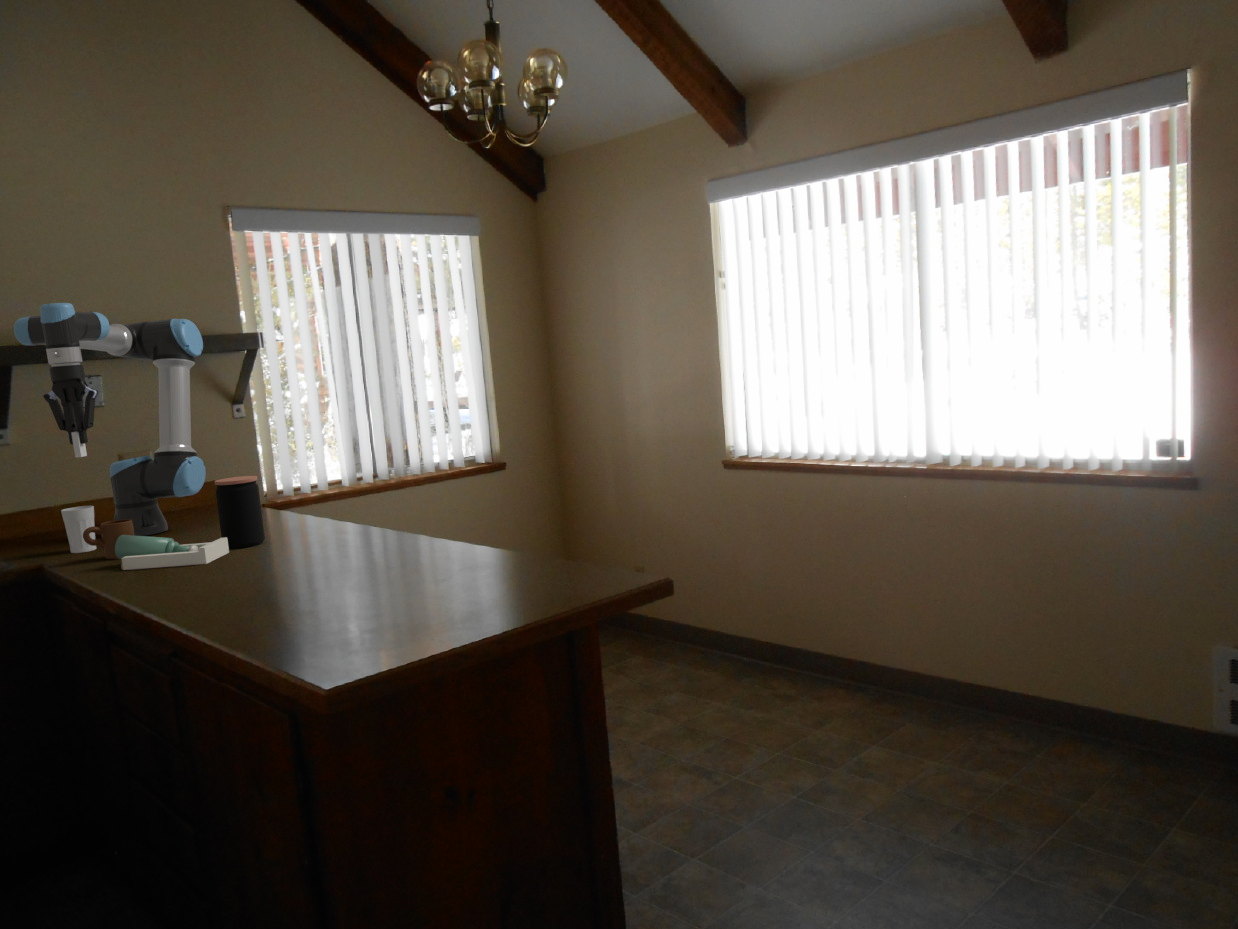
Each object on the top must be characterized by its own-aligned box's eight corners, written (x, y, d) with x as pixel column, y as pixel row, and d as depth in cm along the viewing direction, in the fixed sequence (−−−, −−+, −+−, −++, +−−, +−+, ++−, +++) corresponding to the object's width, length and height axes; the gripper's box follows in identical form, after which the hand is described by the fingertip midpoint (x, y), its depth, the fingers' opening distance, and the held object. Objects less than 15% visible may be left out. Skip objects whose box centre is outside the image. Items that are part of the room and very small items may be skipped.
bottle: (128, 532, 234) (200, 537, 234) (128, 555, 235) (200, 560, 235) (114, 537, 228) (189, 542, 228) (115, 561, 229) (189, 566, 229)
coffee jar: (272, 539, 252) (264, 474, 250) (253, 548, 242) (245, 480, 240) (235, 542, 253) (227, 477, 251) (214, 550, 243) (206, 482, 241)
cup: (89, 552, 255) (83, 509, 254) (61, 554, 256) (54, 511, 254) (105, 546, 263) (99, 504, 262) (78, 548, 263) (72, 507, 262)
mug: (91, 564, 236) (85, 528, 235) (82, 561, 242) (77, 526, 241) (141, 555, 245) (136, 520, 243) (132, 552, 250) (127, 518, 249)
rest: (146, 558, 239) (144, 543, 238) (229, 552, 238) (227, 537, 238) (119, 570, 226) (116, 554, 225) (206, 563, 225) (204, 547, 225)
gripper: (31, 367, 231) (47, 460, 235) (83, 363, 231) (98, 456, 235) (49, 366, 239) (64, 456, 242) (99, 362, 239) (114, 452, 242)
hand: (81, 456), depth 238 cm, fingers closed
